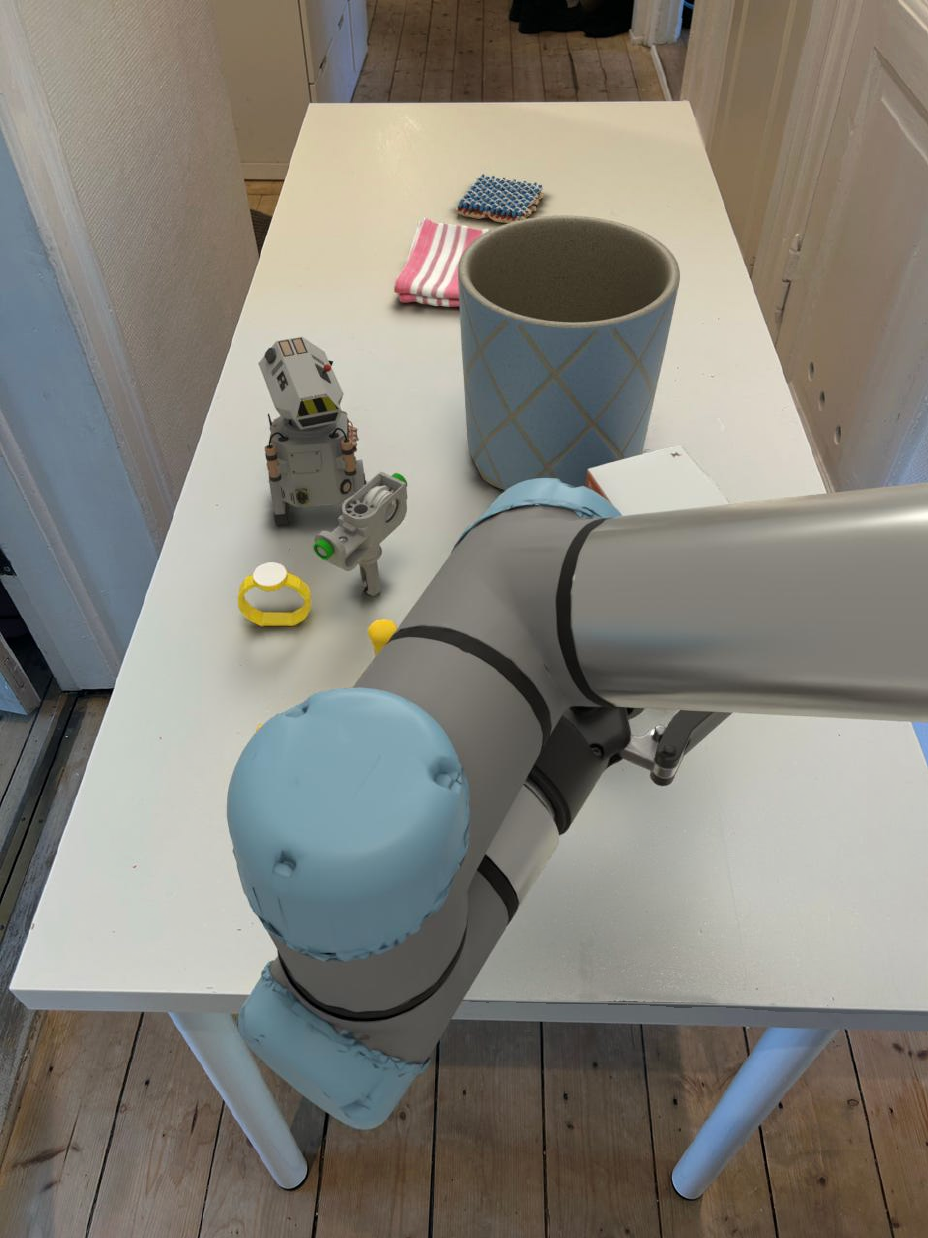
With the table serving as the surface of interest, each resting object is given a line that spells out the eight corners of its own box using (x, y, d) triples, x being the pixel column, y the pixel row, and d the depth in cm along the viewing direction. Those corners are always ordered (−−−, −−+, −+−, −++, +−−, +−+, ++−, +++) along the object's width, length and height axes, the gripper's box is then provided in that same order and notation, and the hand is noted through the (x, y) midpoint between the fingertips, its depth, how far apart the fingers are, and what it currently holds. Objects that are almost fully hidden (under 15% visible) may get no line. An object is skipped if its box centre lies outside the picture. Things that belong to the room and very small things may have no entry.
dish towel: (418, 240, 122) (417, 214, 119) (590, 250, 119) (593, 225, 117) (392, 306, 111) (390, 280, 108) (581, 320, 108) (584, 293, 106)
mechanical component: (321, 618, 78) (304, 535, 70) (393, 549, 83) (385, 465, 76) (347, 633, 77) (333, 550, 69) (419, 562, 82) (413, 478, 75)
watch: (243, 634, 77) (228, 587, 72) (246, 610, 79) (232, 563, 74) (313, 631, 77) (303, 584, 73) (315, 607, 79) (305, 559, 74)
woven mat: (547, 195, 130) (547, 181, 128) (523, 229, 123) (524, 214, 122) (479, 185, 132) (479, 170, 131) (453, 217, 126) (452, 202, 124)
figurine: (366, 454, 92) (350, 323, 81) (369, 531, 85) (352, 399, 74) (277, 460, 92) (249, 329, 81) (273, 539, 84) (240, 406, 73)
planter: (479, 386, 100) (478, 207, 85) (652, 403, 97) (683, 222, 82) (445, 500, 88) (437, 315, 72) (641, 523, 85) (676, 336, 70)
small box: (567, 614, 61) (584, 465, 51) (651, 590, 62) (682, 440, 53) (621, 706, 56) (651, 560, 46) (710, 677, 57) (758, 530, 48)
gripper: (326, 734, 51) (523, 507, 63) (698, 945, 43) (842, 639, 55) (307, 652, 45) (527, 420, 57) (731, 877, 37) (884, 552, 49)
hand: (681, 527), depth 56 cm, fingers closed on small box, 10 cm apart
